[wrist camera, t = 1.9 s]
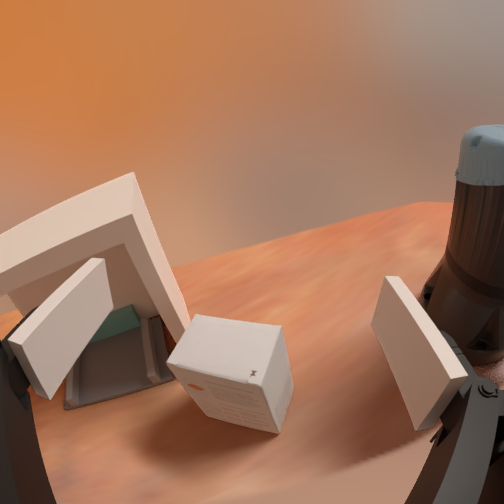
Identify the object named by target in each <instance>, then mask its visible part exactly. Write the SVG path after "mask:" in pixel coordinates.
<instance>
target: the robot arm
mask: <svg viewBox="0 0 504 504" xmlns="http://www.w3.org/2000/svg"><path fill="white" fill-rule="evenodd" d="M455 176H456V179H457V181H456V190H455V198H454V205H453V212H452V219H451V225H450V230H449V236H448V241H447V246H446V251H445V254H444V256H443V257H442V259H441V260H440V262H439V263H438V265H437V266H436V268H435V269H434V271H433V272H432V274H431V275H430V277H429V278H428V280H427V281H426V283H425V285H424V287H423V289H422V293H421V297H420V300H419V302H418V301H417V300H416V298H415V297H414V296H413V294H412V293H411V292H410V290H409V289H408V288H407V286H406V285H405V284H404V283H403V281H402V280H401V279H400V277H399V276H385V277H384V281H383V284H382V288H381V292H380V295H379V299H378V302H377V306H376V309H375V313H374V316H373V319H372V323H371V326H372V328H373V330H374V332H375V334H376V337H377V339H378V341H379V343H380V345H381V348H382V350H383V352H384V354H385V357H386V359H387V361H388V364H389V366H390V368H391V371H392V373H393V375H394V378H395V380H396V383H397V385H398V388H399V390H400V392H401V395H402V397H403V400H404V403H405V405H406V408H407V410H408V413H409V415H410V418H411V421H412V423H413V426H414V429H415V431H419V430H424V429H428V428H432V427H433V426H434V425H435V423H436V422H437V421H438V419H439V418H440V419H441V421H442V423H443V425H442V426H441V428H440V429H439V430H438V431H437V433H436V434H435V435H434V436H433V437H432V439H431V440H430V442H431V443H432V442H433V440H434V439H435V441H434V444H433V446H432V449H431V451H430V453H429V456H428V458H427V460H426V463H425V464H424V467H423V469H422V471H421V473H420V475H419V477H418V479H417V481H416V483H415V485H414V487H413V489H412V491H411V493H410V494H409V496H408V498H407V500H406V502H405V503H404V504H504V390H499V388H498V386H497V385H496V384H495V383H494V382H493V381H492V380H490V379H488V378H484V377H482V378H479V377H478V375H477V374H476V372H475V371H474V369H473V368H472V366H471V365H474V366H481V365H487V364H491V363H494V362H496V361H498V360H500V359H501V358H503V357H504V125H482V126H478V127H474V128H472V129H470V130H468V131H467V132H466V133H465V135H464V136H463V138H462V141H461V146H460V155H459V163H458V168H457V169H456V173H455ZM112 309H113V302H112V297H111V292H110V287H109V282H108V277H107V271H106V265H105V259H101V258H91V259H90V260H88V261H87V262H86V263H85V264H84V265H83V266H82V267H81V268H79V269H78V270H77V271H76V272H75V273H74V274H73V275H72V276H71V277H70V278H68V279H67V280H66V281H65V282H64V283H63V284H62V285H61V286H60V287H59V288H58V289H57V290H56V291H55V292H54V293H52V294H51V295H50V296H49V297H48V298H47V299H46V300H45V301H44V302H43V303H42V304H40V305H39V306H37V307H35V308H34V309H32V310H31V311H30V312H29V313H28V314H27V315H26V316H25V318H23V319H22V320H21V321H20V323H18V324H17V325H16V326H15V327H14V328H13V329H12V330H11V331H10V333H9V334H8V335H7V336H6V337H5V338H4V339H3V340H2V341H1V340H0V504H57V503H56V501H55V498H54V495H53V492H52V489H51V486H50V483H49V480H48V477H47V474H46V470H45V467H44V463H43V459H42V456H41V452H40V448H39V443H38V439H37V434H36V429H35V424H34V419H33V413H32V407H31V400H30V395H29V392H28V391H27V388H28V387H29V386H30V384H31V386H32V388H33V389H34V391H35V393H36V395H39V396H41V397H44V398H46V399H48V400H51V399H52V397H53V396H54V394H55V392H56V391H57V389H58V388H59V386H60V384H61V383H62V381H63V380H64V378H65V377H66V375H67V373H68V372H69V370H70V369H71V367H72V366H73V364H74V363H75V361H76V360H77V358H78V357H79V355H80V354H81V352H82V351H83V350H84V348H85V347H86V345H87V344H88V342H89V341H90V339H91V338H92V337H93V335H94V334H95V332H96V331H97V329H98V328H99V327H100V325H101V324H102V322H103V321H104V320H105V318H106V317H107V316H108V314H109V313H110V311H111V310H112Z"/></svg>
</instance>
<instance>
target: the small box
mask: <svg viewBox="0 0 504 504" xmlns="http://www.w3.org/2000/svg"><path fill="white" fill-rule="evenodd" d="M166 364H167V366H168V367H169V369H170V370H171V371H172V373H173V374H174V375H175V377H176V378H177V379H178V381H179V382H180V383H181V385H182V386H183V387H184V389H185V390H186V391H187V393H188V394H189V395H190V396H191V398H192V399H193V400H194V401H195V403H196V404H197V405H198V406H199V408H200V409H201V410H202V411H203V412H204V414H205V415H206V416H207V417H211V418H215V419H218V420H222V421H225V422H229V423H233V424H237V425H241V426H244V427H249V428H253V429H257V430H262V431H266V432H271V433H276V434H279V433H280V431H281V428H282V425H283V422H284V419H285V416H286V413H287V410H288V406H289V403H290V400H291V397H292V394H293V390H294V385H293V379H292V374H291V369H290V364H289V359H288V354H287V349H286V344H285V339H284V334H283V329H282V326H280V325H270V324H262V323H254V322H246V321H238V320H231V319H224V318H218V317H211V316H205V315H199V314H195V316H194V318H193V319H192V321H191V322H190V324H189V325H188V327H187V329H186V330H185V332H184V334H183V335H182V337H181V338H180V340H179V342H178V343H177V345H176V347H175V348H174V350H173V352H172V353H171V355H170V356H169V358H168V360H167V361H166Z"/></svg>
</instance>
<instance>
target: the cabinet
mask: <svg viewBox="0 0 504 504" xmlns="http://www.w3.org/2000/svg"><path fill="white" fill-rule="evenodd" d="M91 258H101V259H105V265H106V271H107V277H108V282H109V287H110V292H111V297H112V302H113V309H112V310H111V311H110V313H109V314H108V316H107V317H106V318H105V320H104V321H103V322H102V324H101V325H100V327H99V328H98V329H97V331H96V332H95V334H94V335H93V337H92V338H91V339H90V341H89V342H88V344H87V345H86V347H85V348H84V350H83V351H82V352H81V354H80V355H79V357H78V358H77V360H76V361H75V363H74V364H73V366H72V367H71V369H70V370H69V372H68V373H67V375H66V384H65V408H64V409H66V410H71V409H75V408H79V407H83V406H87V405H91V404H95V403H99V402H103V401H106V400H110V399H114V398H117V397H121V396H124V395H128V394H131V393H134V392H138V391H141V390H144V389H147V388H150V387H154V386H157V385H160V384H163V383H166V382H169V381H172V380H174V376H173V373H172V371H171V370H170V369H169V367H168V366H167V364H166V361H167V360H168V358H169V355H168V350H167V345H166V341H165V336H164V331H163V326H162V320H161V318H162V319H163V321H164V323H165V325H166V327H167V328H168V330H169V332H170V334H171V335H172V337H173V339H174V341H175V342H176V344H177V343H178V342H179V340H180V338H181V337H182V335H183V334H184V332H185V330H186V329H187V327H188V325H189V324H190V322H191V321H190V318H189V314H188V311H187V308H186V304H185V301H184V298H183V296H182V293H181V291H180V289H179V287H178V284H177V282H176V280H175V277H174V275H173V273H172V270H171V268H170V266H169V263H168V261H167V258H166V256H165V254H164V251H163V249H162V246H161V244H160V241H159V239H158V236H157V234H156V231H155V229H154V226H153V223H152V221H151V218H150V215H149V213H148V210H147V207H146V205H145V202H144V199H143V197H142V194H141V191H140V188H139V185H138V182H137V180H136V177H135V174H134V172H131V173H129V174H126V175H123V176H121V177H118V178H116V179H113V180H111V181H109V182H106V183H104V184H101V185H99V186H97V187H95V188H92V189H90V190H87V191H85V192H83V193H81V194H79V195H76V196H74V197H72V198H70V199H68V200H65V201H63V202H61V203H59V204H57V205H55V206H53V207H51V208H49V209H47V210H45V211H43V212H41V213H39V214H37V215H35V216H33V217H31V218H29V219H27V220H26V221H24V222H22V223H20V224H18V225H16V226H15V227H13V228H11V229H9V230H7V231H6V232H4V233H2V234H1V235H0V297H1V296H3V295H5V294H8V295H9V297H10V299H11V300H12V301H13V303H14V304H15V306H16V307H17V308H18V310H19V311H20V313H21V314H22V315H23V317H24V318H25V316H26V315H27V314H28V313H29V312H30V311H31V310H32V309H34V308H35V307H37V306H39V305H40V304H42V303H43V302H44V301H45V300H46V299H47V298H48V297H49V296H50V295H51V294H52V293H54V292H55V291H56V290H57V289H58V288H59V287H60V286H61V285H62V284H63V283H64V282H65V281H66V280H67V279H68V278H70V277H71V276H72V275H73V274H74V273H75V272H76V271H77V270H78V269H79V268H81V267H82V266H83V265H84V264H85V263H86V262H87V261H88V260H90V259H91ZM157 315H160V316H161V318H160V317H157V318H154V319H151V320H148V319H149V318H152V317H154V316H157Z"/></svg>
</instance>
